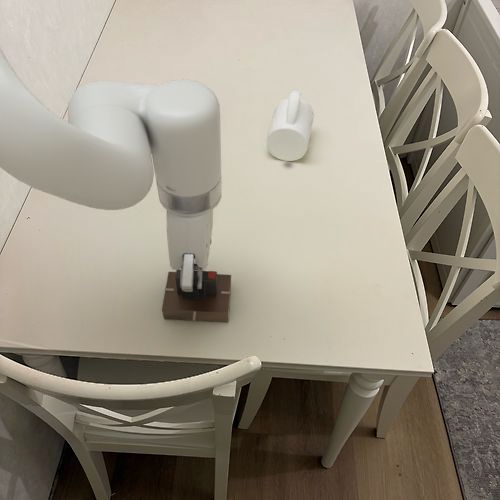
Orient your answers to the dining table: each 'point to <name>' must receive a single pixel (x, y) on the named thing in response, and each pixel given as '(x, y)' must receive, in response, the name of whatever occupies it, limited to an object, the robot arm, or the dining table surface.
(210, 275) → the bar knob
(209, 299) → the knob base block
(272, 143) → the mug
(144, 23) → the dining table surface
